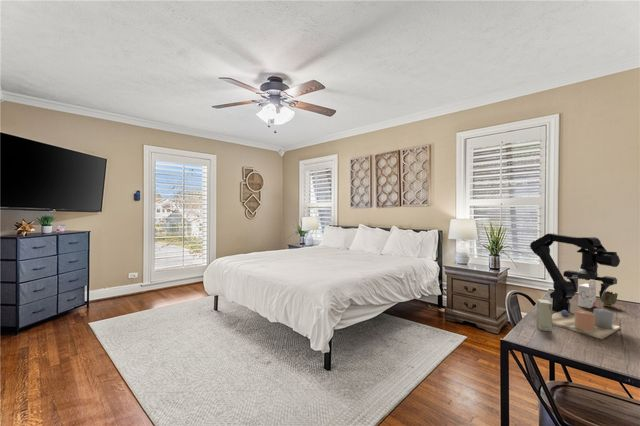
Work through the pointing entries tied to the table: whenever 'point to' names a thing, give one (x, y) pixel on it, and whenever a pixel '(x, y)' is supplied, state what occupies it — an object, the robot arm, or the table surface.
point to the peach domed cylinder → (584, 320)
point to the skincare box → (544, 315)
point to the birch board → (569, 324)
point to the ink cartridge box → (587, 295)
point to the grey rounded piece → (603, 318)
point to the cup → (608, 298)
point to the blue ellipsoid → (564, 313)
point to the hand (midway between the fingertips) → (588, 294)
